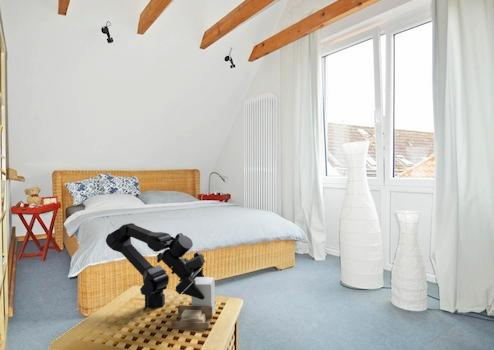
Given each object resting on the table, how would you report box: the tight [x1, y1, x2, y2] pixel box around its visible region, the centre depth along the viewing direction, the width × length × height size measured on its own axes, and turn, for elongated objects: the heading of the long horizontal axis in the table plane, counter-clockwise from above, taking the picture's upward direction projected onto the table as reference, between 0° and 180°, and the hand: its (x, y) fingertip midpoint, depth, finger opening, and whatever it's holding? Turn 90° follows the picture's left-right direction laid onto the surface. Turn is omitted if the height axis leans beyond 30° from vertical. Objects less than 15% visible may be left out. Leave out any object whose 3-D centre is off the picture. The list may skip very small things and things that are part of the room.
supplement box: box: [190, 276, 216, 316], centre depth 121 cm, size 7×7×13 cm
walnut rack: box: [171, 304, 213, 330], centre depth 113 cm, size 12×8×5 cm, turn 85°
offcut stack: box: [180, 310, 206, 322], centre depth 112 cm, size 8×5×4 cm, turn 85°
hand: (206, 293), depth 120 cm, fingers open, 9 cm apart
